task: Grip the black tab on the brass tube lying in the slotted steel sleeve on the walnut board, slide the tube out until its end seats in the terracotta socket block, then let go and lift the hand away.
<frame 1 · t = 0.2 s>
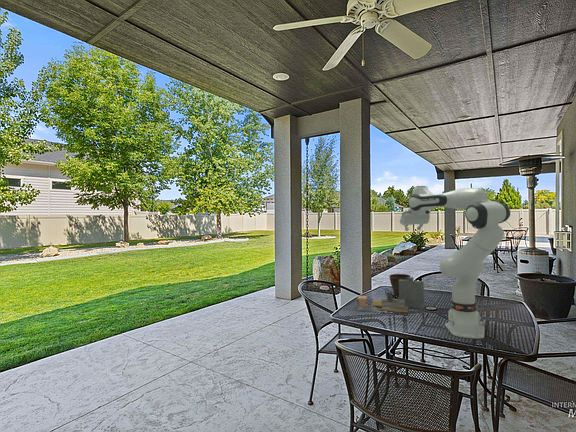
hand: (412, 230, 205), 52 cm above the table, tool tilted 20°, fingers open, 8 cm apart
plant pot: (400, 297, 233), on the table
hip flask: (411, 307, 209), on the table
slip tube: (385, 299, 205), point 7 cm above the table, slide at 0.0 cm
sleeve stand: (382, 309, 206), on the table
socket block: (362, 308, 211), resting on sleeve stand
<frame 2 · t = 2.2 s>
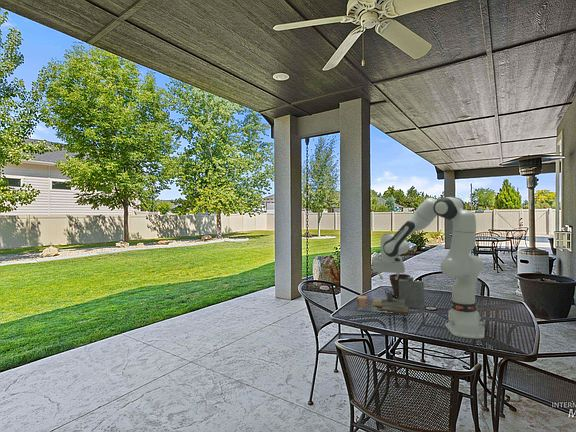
hand: (388, 279, 204), 20 cm above the table, tool pointing down, fingers open, 8 cm apart
nothing on the table moved.
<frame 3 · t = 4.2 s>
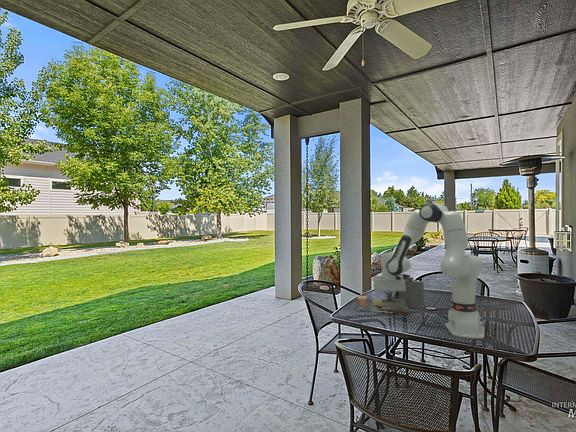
hand: (389, 297, 204), 9 cm above the table, tool pointing down, fingers closed on slip tube, 3 cm apart
slip tube: (385, 299, 205), point 7 cm above the table, slide at 0.0 cm, touching gripper
everything else where it was.
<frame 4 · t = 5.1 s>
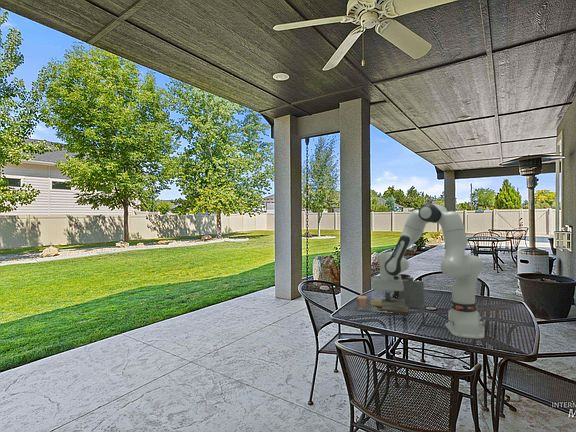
hand: (387, 296, 204), 9 cm above the table, tool pointing down, fingers closed on slip tube, 3 cm apart
slip tube: (383, 298, 205), point 7 cm above the table, slide at 1.2 cm, touching gripper
everything else where it was.
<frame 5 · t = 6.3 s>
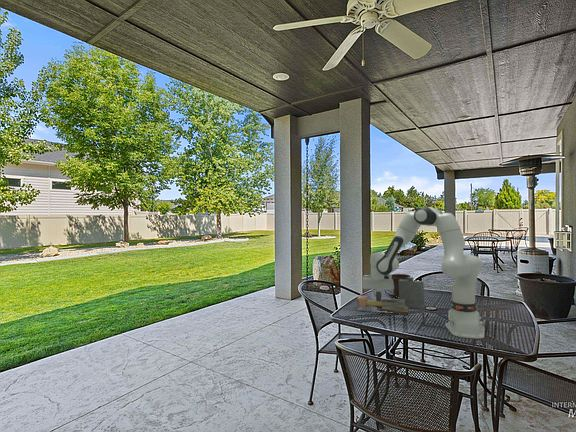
hand: (378, 296, 207), 9 cm above the table, tool pointing down, fingers closed on slip tube, 3 cm apart
slip tube: (374, 298, 208), point 7 cm above the table, slide at 7.0 cm, touching gripper
everything else where it was.
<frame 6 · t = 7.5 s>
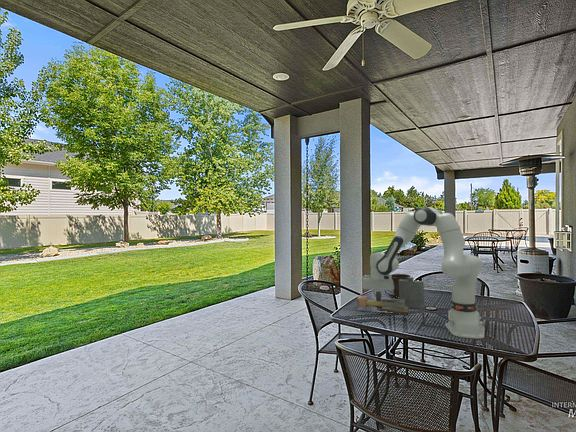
hand: (378, 296, 207), 9 cm above the table, tool pointing down, fingers closed on slip tube, 3 cm apart
slip tube: (374, 298, 208), point 7 cm above the table, slide at 7.1 cm, touching gripper
everything else where it was.
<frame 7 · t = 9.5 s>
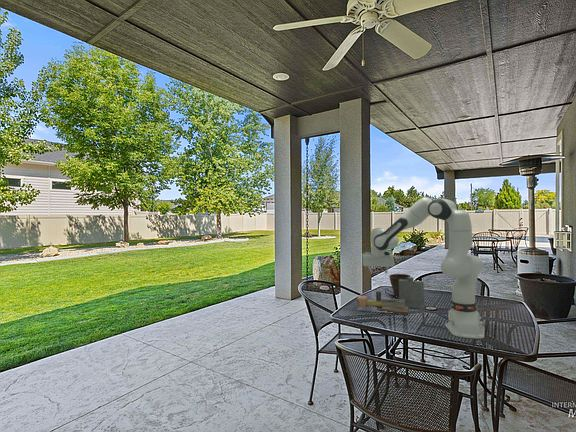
hand: (378, 273, 208), 24 cm above the table, tool pointing down, fingers open, 8 cm apart
slip tube: (374, 298, 208), point 7 cm above the table, slide at 7.0 cm
everything else where it was.
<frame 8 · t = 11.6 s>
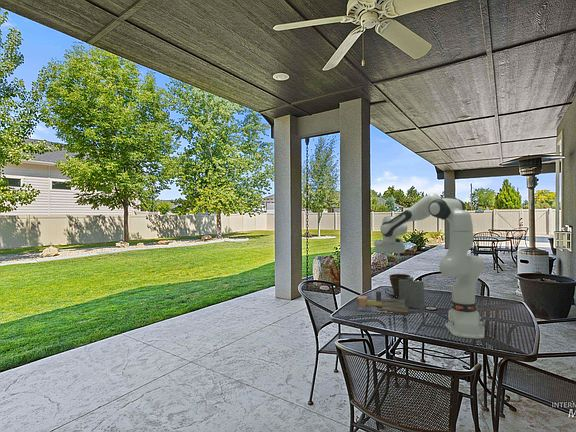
hand: (390, 259, 218), 31 cm above the table, tool pointing down, fingers open, 8 cm apart
nothing on the table moved.
at the end: slip tube slide at 7.0 cm; the gripper is holding nothing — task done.
